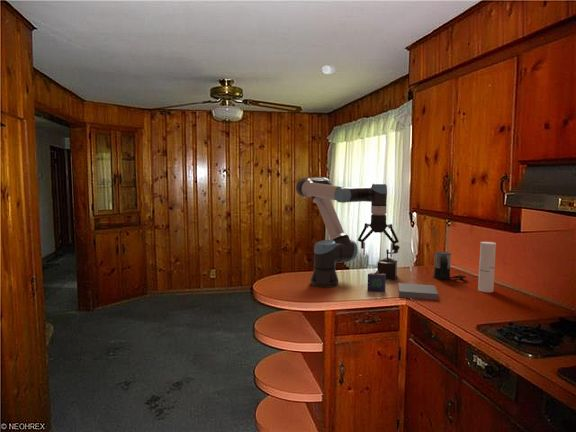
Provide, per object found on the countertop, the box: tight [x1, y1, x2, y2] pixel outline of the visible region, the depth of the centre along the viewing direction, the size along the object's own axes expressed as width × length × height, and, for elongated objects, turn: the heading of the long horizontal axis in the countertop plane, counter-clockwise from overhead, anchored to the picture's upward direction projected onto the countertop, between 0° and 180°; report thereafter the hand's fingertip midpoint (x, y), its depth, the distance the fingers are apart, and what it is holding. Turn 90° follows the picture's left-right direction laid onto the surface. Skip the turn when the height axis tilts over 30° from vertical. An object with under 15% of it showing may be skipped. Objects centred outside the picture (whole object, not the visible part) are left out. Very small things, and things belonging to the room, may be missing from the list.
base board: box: [397, 282, 439, 301], centre depth 203 cm, size 18×15×3 cm
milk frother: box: [433, 251, 467, 281], centre depth 232 cm, size 14×16×15 cm
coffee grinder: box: [376, 244, 401, 281], centre depth 237 cm, size 16×11×18 cm
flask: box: [367, 270, 387, 293], centre depth 207 cm, size 9×3×11 cm, turn 88°
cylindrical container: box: [477, 241, 497, 293], centre depth 208 cm, size 7×7×25 cm
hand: (377, 255), depth 206 cm, fingers open, 13 cm apart
